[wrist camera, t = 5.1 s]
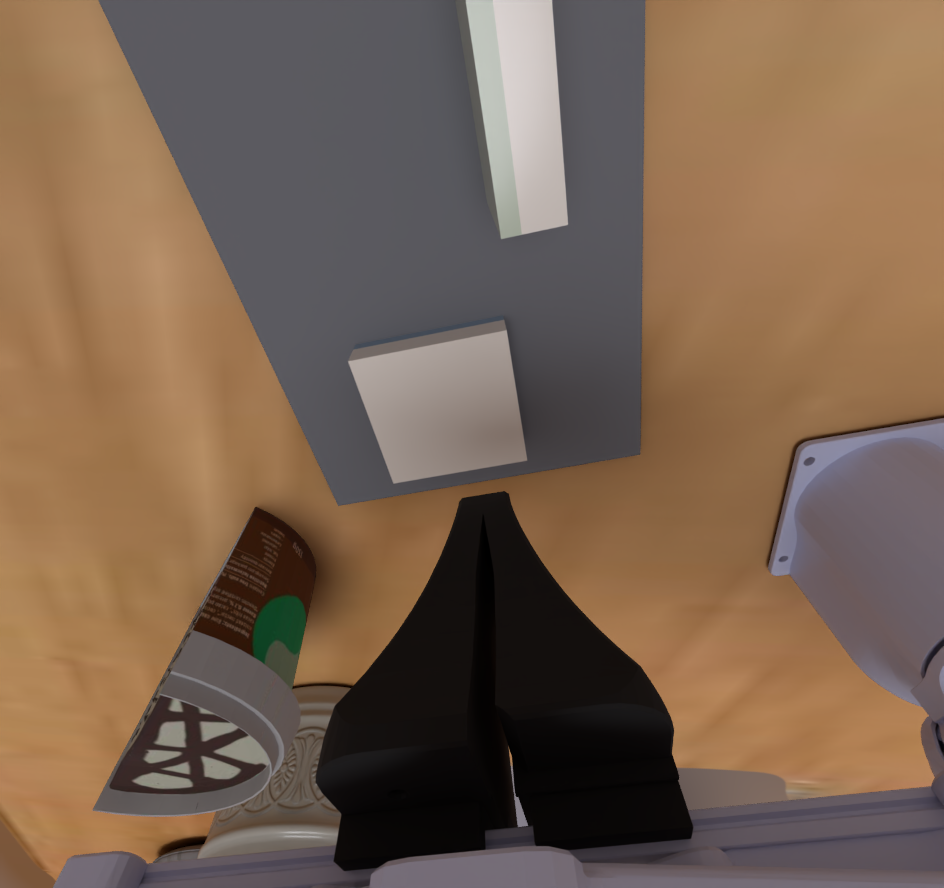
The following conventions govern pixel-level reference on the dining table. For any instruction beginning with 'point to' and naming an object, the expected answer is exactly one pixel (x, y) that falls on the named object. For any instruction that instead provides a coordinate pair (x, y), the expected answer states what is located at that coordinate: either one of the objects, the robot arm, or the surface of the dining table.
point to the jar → (285, 793)
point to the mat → (405, 208)
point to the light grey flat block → (442, 399)
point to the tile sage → (516, 111)
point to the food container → (224, 686)
